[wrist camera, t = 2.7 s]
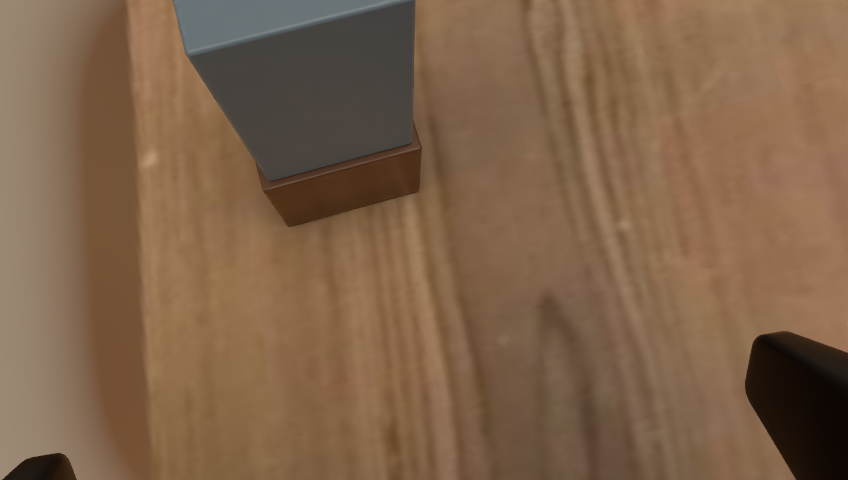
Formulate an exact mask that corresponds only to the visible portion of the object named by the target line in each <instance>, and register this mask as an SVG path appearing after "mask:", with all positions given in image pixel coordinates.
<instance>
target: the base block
mask: <svg viewBox="0 0 848 480" xmlns="http://www.w3.org/2000/svg"><path fill="white" fill-rule="evenodd" d="M421 150H422V147H421V144H420V141H419V137H418V134H417V131H416V128H415V124H414V121H413V129H412V142H411V143H410V144H406V145H403V146H399V147H395V148H392V149H388V150H384V151H381V152H377V153H373V154H369V155H366V156H362V157H358V158H355V159H351V160H347V161H344V162H340V163H336V164H332V165H329V166H325V167H321V168H318V169H314V170H310V171H307V172H303V173H299V174H295V175H292V176H288V177H284V178H281V179H277V180H273V181H268V179H267V178H266V176H265V175H264V173H263V172H262V170H261V169H260V167H259V166H258V164H257V163H256V165H257V169H258V173H259V177H260V181H261V185H262V189H263V191H264V193H265V194H266V196H267V197H268V198H269V200H270V201H271V203H272V204H273V205H274V207H275V208H276V210H277V211H278V212H279V214H280V215H281V217H282V218H283V220H284V221H285V222H286V224H287V225H288V226H289V227H291V226H294V225H298V224H301V223H305V222H309V221H312V220H316V219H319V218H323V217H327V216H330V215H334V214H338V213H341V212H345V211H348V210H352V209H356V208H359V207H363V206H366V205H370V204H374V203H377V202H381V201H385V200H388V199H392V198H395V197H399V196H403V195H406V194H410V193H413V192H417V191H419V182H420V166H421ZM255 162H256V161H255Z"/></svg>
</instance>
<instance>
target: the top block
mask: <svg viewBox="0 0 848 480" xmlns="http://www.w3.org/2000/svg"><path fill="white" fill-rule="evenodd" d="M173 3H174V7H175V11H176V16H177V20H178V24H179V28H180V32H181V36H182V41H183V45H184V49H185V53H186V55H187V57H188V58H189V60H190V61H191V63H192V64H193V66H194V67H195V69H196V70H197V72H198V73H199V75H200V77H201V78H202V80H203V81H204V83H205V84H206V86H207V87H208V89H209V90H210V92H211V93H212V95H213V97H214V98H215V100H216V101H217V103H218V104H219V106H220V107H221V109H222V110H223V112H224V113H225V115H226V116H227V118H228V120H229V121H230V123H231V124H232V126H233V127H234V129H235V130H236V132H237V133H238V135H239V136H240V138H241V140H242V141H243V143H244V144H245V146H246V147H247V149H248V150H249V152H250V153H251V155H252V156H253V158H254V160H255V161H256V163H257V164H258V166H259V167H260V169H261V170H262V172H263V173H264V175H265V176H266V178H267V179H268V181H273V180H277V179H281V178H284V177H288V176H292V175H295V174H299V173H303V172H307V171H310V170H314V169H318V168H321V167H325V166H329V165H332V164H336V163H340V162H344V161H347V160H351V159H355V158H358V157H362V156H366V155H369V154H373V153H377V152H381V151H384V150H388V149H392V148H395V147H399V146H403V145H406V144H410V143H411V142H412V129H413V85H414V41H415V0H173Z"/></svg>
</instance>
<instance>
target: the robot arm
mask: <svg viewBox="0 0 848 480" xmlns="http://www.w3.org/2000/svg"><path fill="white" fill-rule="evenodd" d="M745 390H746V394H747V397H748V400H749V402H750V403H751V405H752V407H753V408H754V410H755V412H756V413H757V415H758V417H759V418H760V420H761V422H762V423H763V425H764V427H765V428H766V430H767V432H768V433H769V435H770V437H771V438H772V440H773V442H774V443H775V445H776V447H777V448H778V450H779V452H780V453H781V455H782V457H783V458H784V460H785V462H786V463H787V465H788V467H789V468H790V470H791V472H792V473H793V475H794V477H795V478H796V480H848V353H846V352H844V351H841V350H838V349H835V348H833V347H830V346H827V345H824V344H822V343H819V342H816V341H813V340H811V339H808V338H805V337H802V336H799V335H797V334H794V333H791V332H787V331H780V332H774V333H769V334H763V335H760V336H758V337H757V338H756V339H755V340H754V342H753V345H752V349H751V354H750V359H749V364H748V369H747V374H746V379H745ZM3 480H77V479H76V477H75V474H74V471H73V469H72V466H71V463H70V461H69V459H68V458H67V457H66V456H65V455H64V454H61V453H56V454H49V455H43V456H37V457H32V458H29V459H26V460H24V461H23V462H22V463H20V464H19V465H18V466H17V467H16V468H15V469H14V470H12V471H11V472H10V473H9V474H8V475H7V476H6V477H5V478H4V479H3Z"/></svg>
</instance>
